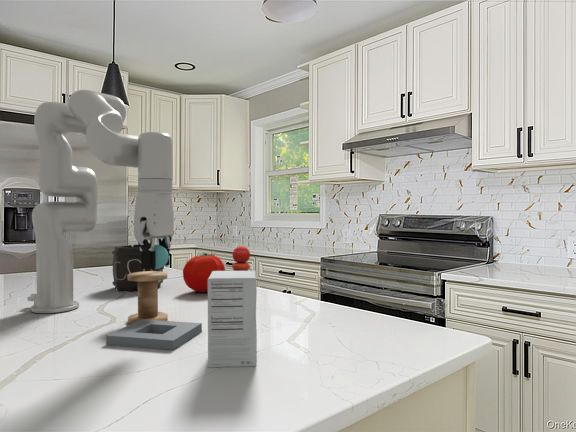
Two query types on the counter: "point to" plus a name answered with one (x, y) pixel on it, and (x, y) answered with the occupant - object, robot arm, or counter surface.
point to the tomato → (201, 271)
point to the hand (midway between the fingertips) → (155, 266)
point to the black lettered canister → (128, 267)
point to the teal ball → (161, 256)
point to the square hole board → (142, 336)
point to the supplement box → (232, 319)
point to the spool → (147, 296)
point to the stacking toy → (241, 259)
